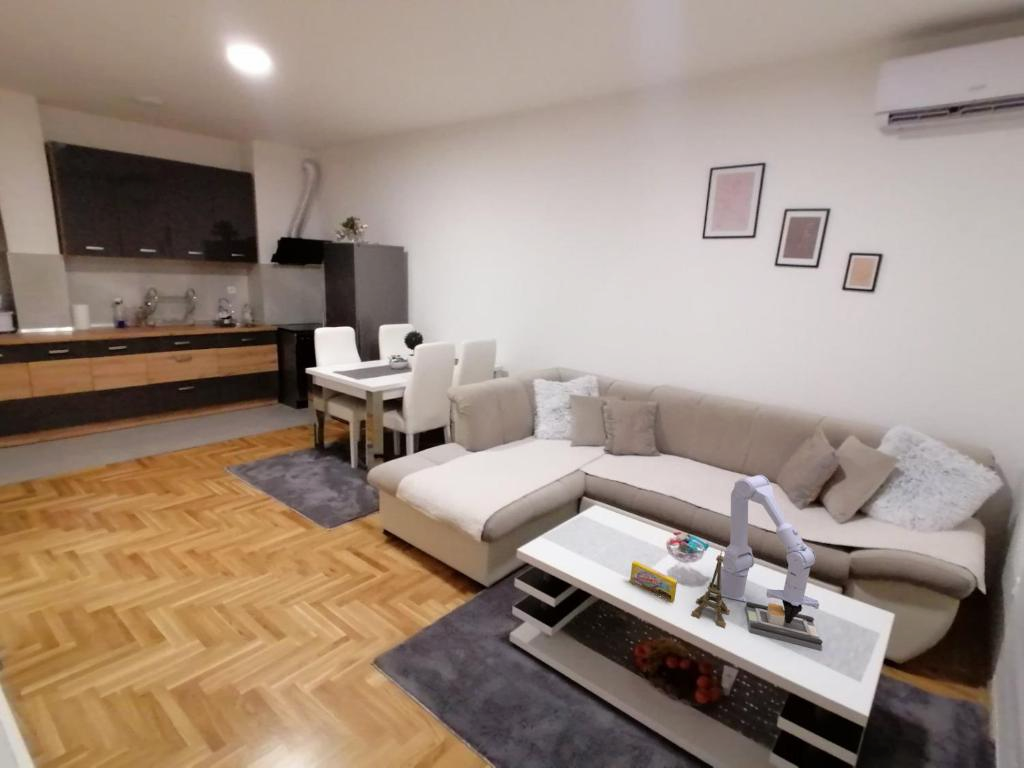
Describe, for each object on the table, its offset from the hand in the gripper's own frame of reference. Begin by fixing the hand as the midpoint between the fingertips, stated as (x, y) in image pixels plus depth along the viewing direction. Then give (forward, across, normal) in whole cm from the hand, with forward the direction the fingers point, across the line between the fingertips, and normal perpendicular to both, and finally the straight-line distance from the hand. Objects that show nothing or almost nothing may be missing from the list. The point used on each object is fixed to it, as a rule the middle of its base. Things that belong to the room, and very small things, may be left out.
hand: (787, 621), depth 163 cm
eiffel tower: (+3, -23, -2) cm, 23 cm away
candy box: (+3, -42, +3) cm, 42 cm away
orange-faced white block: (+1, -4, 0) cm, 4 cm away
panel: (+3, -1, 0) cm, 3 cm away
